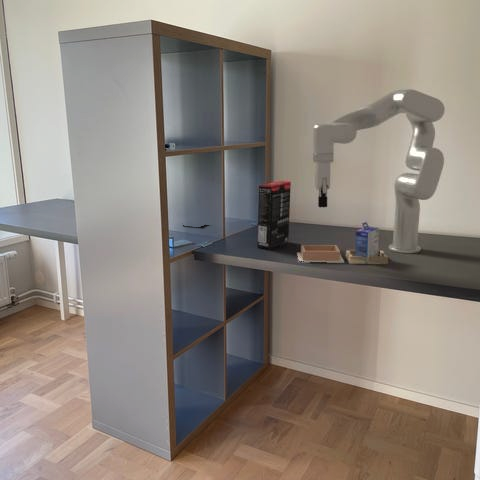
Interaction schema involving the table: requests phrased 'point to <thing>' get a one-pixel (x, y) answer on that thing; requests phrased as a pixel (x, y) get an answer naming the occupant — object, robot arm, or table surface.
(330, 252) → the tray
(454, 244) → the table surface
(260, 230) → the graphics card box
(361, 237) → the ink cartridge box
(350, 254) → the beige rectangular frame
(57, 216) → the table surface
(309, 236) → the table surface
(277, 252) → the table surface
